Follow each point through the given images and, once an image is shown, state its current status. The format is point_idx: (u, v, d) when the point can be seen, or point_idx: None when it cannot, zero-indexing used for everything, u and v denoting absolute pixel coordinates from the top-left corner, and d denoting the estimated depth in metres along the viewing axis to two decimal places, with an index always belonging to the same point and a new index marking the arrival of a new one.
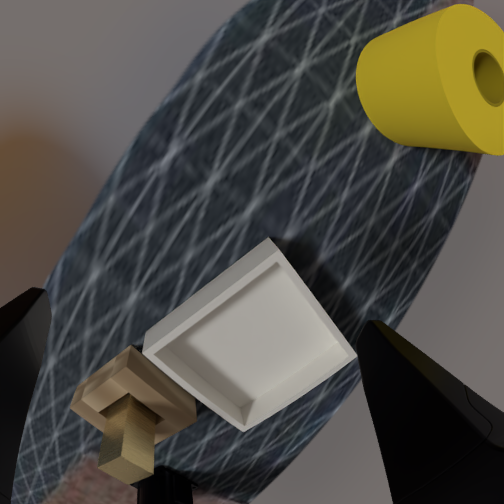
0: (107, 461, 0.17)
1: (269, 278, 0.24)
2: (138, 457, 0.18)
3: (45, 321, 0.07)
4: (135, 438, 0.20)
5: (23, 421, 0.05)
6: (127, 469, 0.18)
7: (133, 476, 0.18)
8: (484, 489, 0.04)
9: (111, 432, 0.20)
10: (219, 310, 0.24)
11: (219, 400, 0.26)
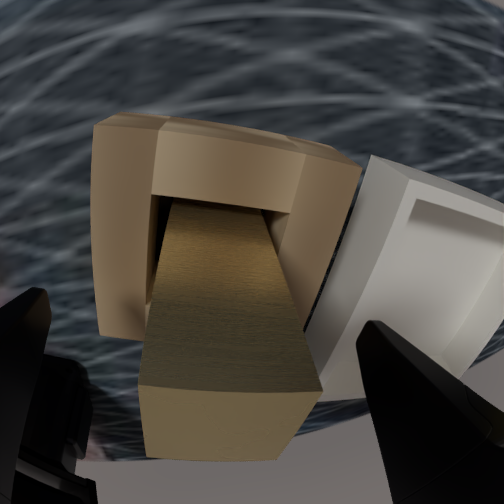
0: (225, 386, 0.05)
1: (496, 245, 0.15)
2: None
3: (45, 321, 0.07)
4: None
5: (23, 421, 0.05)
6: (240, 432, 0.05)
7: (216, 450, 0.06)
8: (484, 489, 0.04)
9: (211, 274, 0.07)
10: (455, 226, 0.14)
11: None
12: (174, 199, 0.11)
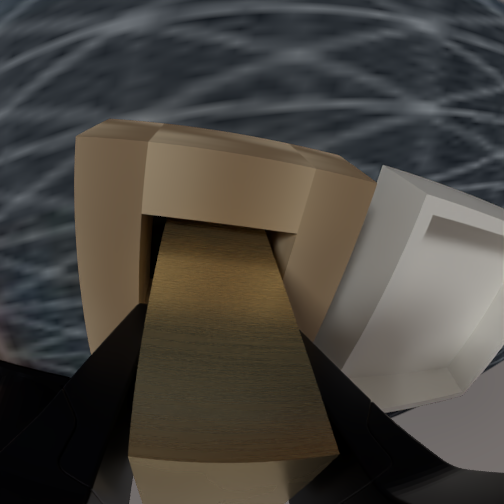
0: (228, 455, 0.04)
1: None
2: None
3: None
4: None
5: None
6: (245, 490, 0.04)
7: (218, 502, 0.05)
8: None
9: (210, 312, 0.06)
10: (467, 239, 0.13)
11: None
12: None
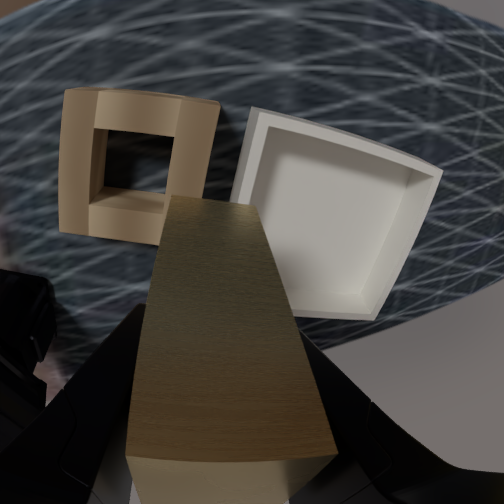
0: (226, 455, 0.04)
1: (392, 184, 0.20)
2: None
3: None
4: None
5: None
6: (243, 489, 0.04)
7: (217, 502, 0.05)
8: None
9: (209, 311, 0.06)
10: (338, 163, 0.19)
11: None
12: (167, 215, 0.09)
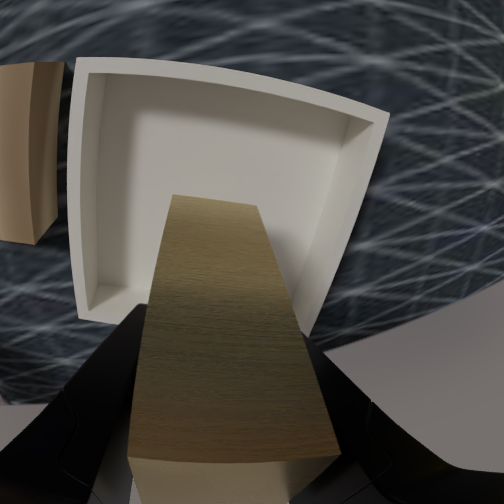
0: (228, 456, 0.04)
1: (317, 144, 0.14)
2: None
3: None
4: None
5: None
6: (245, 490, 0.04)
7: (219, 502, 0.05)
8: None
9: (210, 311, 0.06)
10: (222, 116, 0.13)
11: (89, 243, 0.14)
12: (168, 215, 0.09)
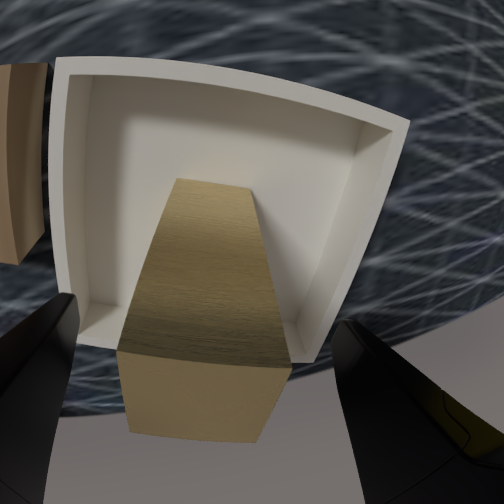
0: (196, 356, 0.05)
1: (327, 153, 0.13)
2: None
3: (75, 326, 0.07)
4: None
5: (54, 430, 0.06)
6: (215, 408, 0.06)
7: (195, 428, 0.06)
8: (459, 503, 0.04)
9: (198, 259, 0.08)
10: (222, 121, 0.12)
11: (77, 262, 0.12)
12: (171, 193, 0.11)
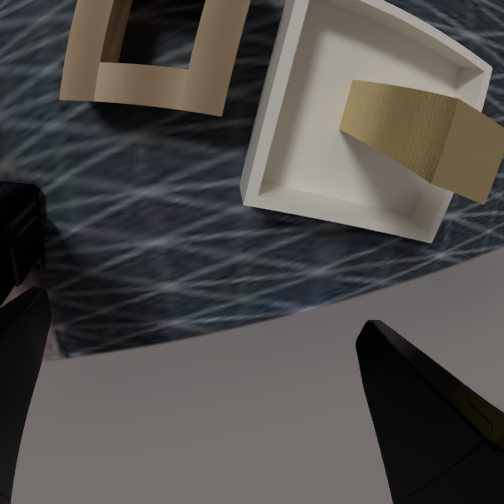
0: (482, 114, 0.08)
1: (441, 84, 0.15)
2: None
3: (45, 321, 0.07)
4: None
5: (23, 421, 0.05)
6: (481, 157, 0.09)
7: (466, 178, 0.09)
8: (484, 489, 0.04)
9: None
10: (385, 49, 0.14)
11: None
12: (366, 81, 0.14)
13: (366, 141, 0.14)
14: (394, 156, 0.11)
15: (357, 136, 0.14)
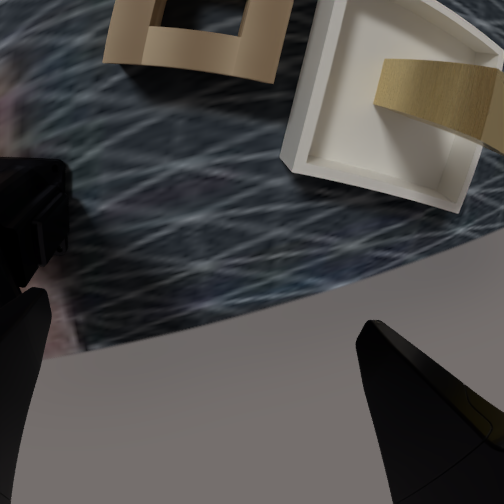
0: None
1: None
2: None
3: (45, 321, 0.07)
4: None
5: (23, 421, 0.05)
6: None
7: None
8: (484, 488, 0.04)
9: None
10: (411, 32, 0.14)
11: None
12: (400, 59, 0.14)
13: (407, 111, 0.13)
14: (439, 121, 0.11)
15: (396, 108, 0.14)
